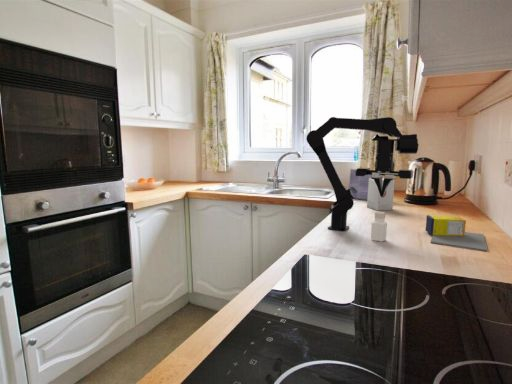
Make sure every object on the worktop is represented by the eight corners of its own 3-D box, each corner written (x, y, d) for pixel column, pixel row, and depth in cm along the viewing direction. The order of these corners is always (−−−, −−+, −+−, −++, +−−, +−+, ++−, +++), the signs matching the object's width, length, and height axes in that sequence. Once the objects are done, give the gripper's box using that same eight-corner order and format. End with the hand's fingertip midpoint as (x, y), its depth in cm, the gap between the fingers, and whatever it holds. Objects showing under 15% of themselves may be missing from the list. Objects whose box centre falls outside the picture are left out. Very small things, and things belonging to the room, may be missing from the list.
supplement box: (424, 230, 115) (457, 232, 113) (430, 235, 110) (464, 237, 107) (426, 214, 114) (459, 216, 112) (431, 218, 109) (466, 220, 106)
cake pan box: (383, 200, 182) (385, 169, 179) (381, 201, 178) (383, 170, 175) (350, 197, 192) (351, 168, 189) (347, 198, 188) (349, 168, 185)
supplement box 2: (377, 210, 152) (378, 180, 150) (366, 207, 161) (368, 178, 159) (393, 209, 154) (395, 179, 152) (381, 206, 163) (383, 177, 161)
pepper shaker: (386, 240, 105) (388, 212, 104) (381, 242, 103) (383, 214, 101) (375, 237, 108) (376, 210, 107) (370, 240, 105) (371, 212, 104)
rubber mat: (487, 251, 94) (487, 249, 94) (430, 243, 102) (430, 241, 102) (483, 235, 111) (483, 234, 111) (434, 229, 119) (434, 228, 119)
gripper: (416, 153, 114) (413, 195, 116) (363, 152, 124) (361, 191, 126) (412, 154, 105) (408, 200, 107) (356, 153, 115) (353, 195, 117)
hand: (382, 196), depth 114 cm, fingers closed
